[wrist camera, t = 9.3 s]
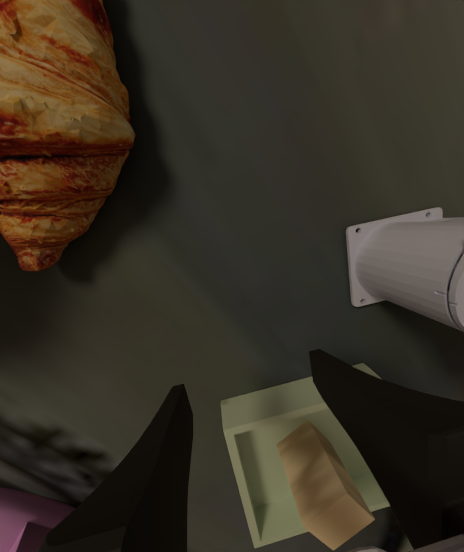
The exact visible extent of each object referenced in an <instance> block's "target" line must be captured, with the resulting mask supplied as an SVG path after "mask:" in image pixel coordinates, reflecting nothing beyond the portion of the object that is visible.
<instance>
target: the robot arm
mask: <svg viewBox="0 0 464 552" xmlns="http://www.w3.org/2000/svg"><path fill="white" fill-rule="evenodd" d="M426 214H427V216H426ZM357 228H358V232H357V233H356V229H357ZM346 241H347V254H348V267H349V280H350V293H351V303H352V305H353V306H355V307H360V306H364V305H368V304H372V303H376V302H381V301H385V300H387V301H390V302H392V303H394V304H397V305H399V306H402V307H404V308H407V309H409V310H411V311H414V312H416V313H419V314H421V315H424V316H426V317H428V318H431V319H433V320H436V321H438V322H441V323H443V324H445V325H448V326H450V327H453V328H455V329H458V330H460V331H462V332H464V217H462V218H442V209H441V208H431V209H427V210H422V211H418V212H413V213H409V214H404V215H399V216H395V217H390V218H386V219H381V220H377V221H372V222H368V223H363V224H358V225H354V226H350V227H348V228H347V230H346ZM362 299H363V301H362V302H361V300H362ZM309 355H310V363H311V370H312V378H313V383H314V385H315V386H316V388H317V390H318V392H319V394H320V395H321V397H322V399H323V400H324V402H325V403H326V405H327V406H328V408H329V409H330V410H331V412H332V413H333V415H334V416H335V417H336V419H337V420H338V421H339V423H340V424H341V426H342V427H343V428H344V430H345V431H346V433H347V434H348V435H349V437H350V438H351V440H352V441H353V443H354V444H355V446H356V447H357V449H358V451H359V452H360V454H361V456H362V457H363V459H364V461H365V462H366V464H367V466H368V467H369V469H370V471H371V473H372V474H373V476H374V478H375V480H376V481H377V483H378V485H379V486H380V488H381V490H382V492H383V493H384V495H385V497H386V499H387V501H388V503H389V504H390V506H391V508H392V510H393V512H394V513H395V515H396V517H397V519H398V521H399V522H400V524H401V526H402V528H403V530H404V532H405V534H406V536H407V537H408V539H409V541H410V543H411V545H412V547H413V549H414V550H412V551H409V552H464V402H462V401H456V400H451V399H447V398H442V397H438V396H434V395H430V394H426V393H422V392H418V391H415V390H412V389H408V388H405V387H402V386H399V385H396V384H393V383H390V382H388V381H385V380H382V379H380V378H377V377H375V376H372V375H370V374H368V373H366V372H363V371H361V370H359V369H357V368H355V367H353V366H351V365H349V364H347V363H345V362H343V361H341V360H339V359H337V358H335V357H334V356H332V355H330V354H328V353H326V352H324V351H322V350H320V349H317V350H313V351H309ZM192 441H193V413H192V410H191V406H190V403H189V400H188V396H187V393H186V390H185V386H184V384H181V385H177V386H173V387H172V388H171V390H170V392H169V393H168V395H167V397H166V399H165V400H164V402H163V404H162V405H161V407H160V409H159V410H158V412H157V414H156V415H155V417H154V418H153V420H152V421H151V423H150V425H149V426H148V427H147V429H146V430H145V432H144V433H143V435H142V436H141V438H140V439H139V440H138V442H137V443H136V444H135V446H134V447H133V448H132V449H131V451H130V452H129V453H128V454H127V456H126V457H125V458H124V459H123V460H122V461H121V463H120V464H119V465H118V466H117V467H116V468H115V469H114V470H113V472H112V473H111V474H110V475H109V476H108V477H107V478H106V479H105V480H104V481H103V482H102V483H101V484H100V485H99V486H98V488H97V489H96V490H95V491H94V492H93V493H91V494H90V495H89V496H88V497H87V498H86V499H85V500H84V501H83V502H82V503H81V504H80V505H79V506H78V507H77V508H76V509H75V510H73V511H72V512H71V513H70V514H69V515H68V516H67V517H66V518H64V519H63V520H62V521H61V522H60V523H59V524H58V525H57V526H55V527H54V528H53V529H52V530H51V531H50V532H48V534H47V535H46V537H45V539H44V541H43V543H42V545H41V547H40V548H39V550H38V552H187V497H188V482H189V472H190V462H191V452H192ZM347 552H386V551H384V550H382V549H379V548H376V547H374V546H369V547H362V548H356V549H353V550H350V551H347Z"/></svg>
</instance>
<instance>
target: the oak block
mask: <svg viewBox="0 0 464 552" xmlns="http://www.w3.org/2000/svg"><path fill="white" fill-rule="evenodd" d="M276 445H277V448H278V451H279V454H280V457H281V460H282V463H283V466H284V469H285V472H286V475H287V478H288V481H289V484H290V487H291V490H292V493H293V496H294V500H295V503H296V506H297V509H298V512H299V515H300V518H301V521H302V524H303V527H304V528H306V529H307V530H308V531H309V532H311V533H312V534H313V535H314V536H316V537H317V538H318V539H319V540H321V541H322V542H323V543H324V544H326V545H327V546H328V547H329V548H331V549H332V550H333V551H334V550H335V549H336V548H338V547H339V546H340V545H342V544H343V543H344V542H346V541H347V540H348V539H350V538H351V537H352V536H354V535H355V534H356V533H358V532H359V531H360V530H362V529H363V528H364V527H366V526H367V525H368V524H370V523H371V522H372V521H374V520H375V519H374V517H373V515H372V513H371V512H370V510H369V508H368V507H367V505H366V503H365V501H364V500H363V498H362V496H361V494H360V493H359V491H358V489H357V488H356V486H355V484H354V482H353V481H352V479H351V477H350V475H349V474H348V472H347V470H346V469H345V467H344V465H343V463H342V462H341V460H340V458H339V456H338V455H337V453H336V451H335V450H334V448H333V446H332V444H331V443H330V441H329V440H328V439H327V438H326V437H325V436H324V435H323V434H322V433H321V432H320V431H319V430H318V429H317V428H316V427H315V426H314V425H313V424H312V423H311V422H310V421H309V420H307V421H305V422H304V423H303V424H302V425H300V426H299V427H298V428H297V429H295V430H294V431H293V432H291V433H290V434H289V435H288V436H286V437H285V438H284V439H283V440H281V441H280V442H279V443H278V444H276Z"/></svg>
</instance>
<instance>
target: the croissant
mask: <svg viewBox="0 0 464 552" xmlns="http://www.w3.org/2000/svg"><path fill="white" fill-rule="evenodd" d="M113 42H114V41H113V36H112V31H111V26H110V23H109V21H108V18H107V15H106V11H105V9H104V7H103V2H102V0H0V211H1V213H2V214H1V215H0V232H1V234H2V236H3V238H4V239H5V240H6V241H7V242H8V244H9V245H10V247H11V248H12V250H13V251H14V253H15V254H16V256H17V259H18V263H19V267H20V269H22V270H24V271H41V270H45V269H47V268H49V267H51V266H52V265H53V264H54V263H56V262H57V261H59V259H60V257H61V256H62V253H63V250H64V249H65V247H67V245H68V243H69V242H70V241H72V240H74V239H76V238H78V237H79V236H81V235H82V234H83V233H85V232H86V231H87V230H88V229H89V227H90V224H91V223H92V222H93V221H94V218H95V216H96V215H97V213H98V211H99V209H100V208H101V207H102V206H103V204H104V202H105V200H106V198H107V196H108V195H110V194H111V193H112V192H113V190H114V188H115V185H116V182H117V178H118V176H119V174H120V171H121V168H122V166H123V164H124V162H125V160H126V158H127V156H128V155H129V149H130V148H132V147H133V142H134V139H135V133H134V131H133V129H132V127H131V125H130V124H129V122H130V115H129V96H128V91H127V89H126V87H125V86H124V85H123V84H122V83H121V81H120V79H119V75H118V72H117V70H116V59H115V55H114V51H113Z"/></svg>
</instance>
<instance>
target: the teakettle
mask: <svg viewBox="0 0 464 552" xmlns="http://www.w3.org/2000/svg"><path fill="white" fill-rule="evenodd" d="M75 509H76V508H74V507H72V506H70V505H67V504H65V503H62V502H59V501H56V500H53V499H50V498H46V497H43V496H39V495H35V494H32V493H28V492H24V491H20V490H15V489H10V488H5V487H0V552H38V550H39V548H40V547H41V545H42V543H43V541H44V539H45V537H46V535H47V534H48V532H50V531H51V530H52V529H53V528H54V527H55V526H57V525H58V524H59V523H60V522H61V521H62V520H63V519H64V518H66V517H67V516H68V515H69V514H70V513H71V512H72V511H73V510H75Z"/></svg>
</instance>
